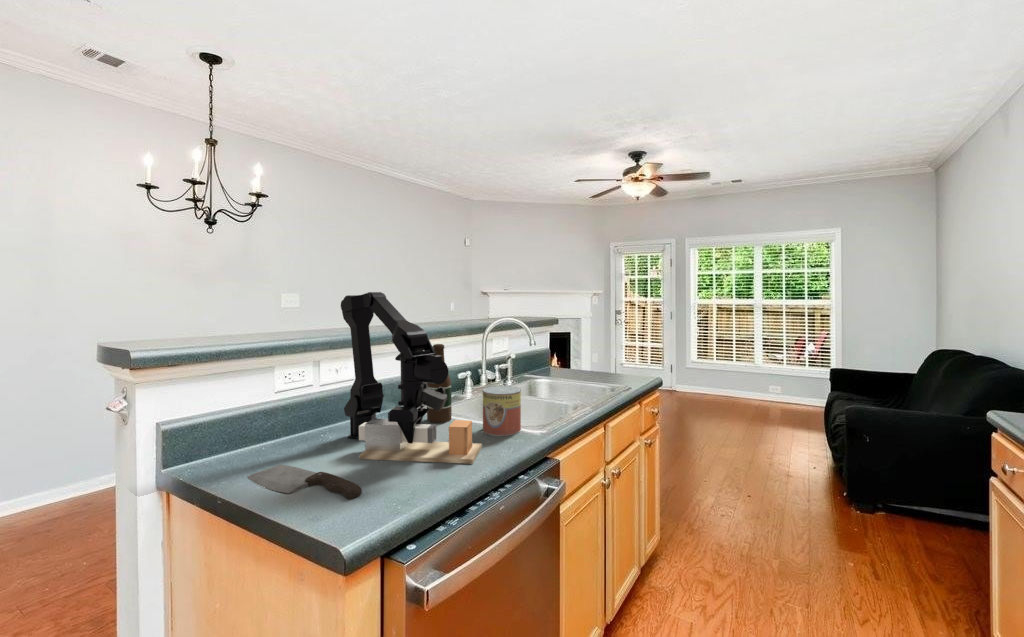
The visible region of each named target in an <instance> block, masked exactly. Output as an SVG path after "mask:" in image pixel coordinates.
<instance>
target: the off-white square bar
mask: <svg viewBox="0 0 1024 637" xmlns="http://www.w3.org/2000/svg"><path fill="white" fill-rule="evenodd" d="M366 423H367V422H364V423H363V424H361V425H360V426H359V439H358V441H365V424H366ZM400 437H401V442H407V440H406V438H405V436H404V434H403V432H402V430H401V428H400ZM436 440H437V423H431V424H428V423H426V424H425V423H424V424H423V423H421V424H416V425H415V432H414V439H413V442H418V443H433V442H436Z"/></svg>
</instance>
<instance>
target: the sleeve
mask: <svg viewBox="0 0 1024 637" xmlns="http://www.w3.org/2000/svg"><path fill="white" fill-rule="evenodd" d="M364 443H365V444H364V446H365V447H364V448H365V449H364V451H365V450H373V451H397V452H400V451H401V450H402V449H403V448H404V447H405V446H407V442H401V437H400V426H399V425H398V423H397V422H389V421H388V418H377V419H372V420H371V421H369V422H367V423H366V424H365V440H364Z"/></svg>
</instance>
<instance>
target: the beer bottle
mask: <svg viewBox="0 0 1024 637" xmlns="http://www.w3.org/2000/svg"><path fill="white" fill-rule="evenodd" d="M432 347H433V348H434V351H435V353H436V355H441V356H442V361H444V362H445V344H443V343H436V344H432ZM445 363H446V362H445ZM426 383H427V382H426ZM427 385H428V389H431V390H432V389H434V390H437V389H438V388H439V387H443V388H445V392H446V394H447V400H446V402H445V404H444V407H443V408H442V409H441V410H440V411H437V410H434V409H433V408H431V407H429V406H426V409H430V410H429V411H428V412H427V413H426V419H427V421H428V422H429V423H431V424H442V423H448V422H451V420H452V415H453V414H452V412H453V411H452V404H453V403H452V379H451V376H450V374H449V373H448V377H447V379H446V380H445V382H443V383H442V384H433V383H427Z"/></svg>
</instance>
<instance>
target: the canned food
mask: <svg viewBox="0 0 1024 637" xmlns="http://www.w3.org/2000/svg"><path fill="white" fill-rule="evenodd" d="M521 402H522V389H521V388H520V387H516V386H513V385H510V386H509V385H495V386H488V387H484V388H483V389H482V432H483V433H484V434H486V435H489V436H496V437H506V436H515V435H517V434H519V433H520V432H519V431H520V430H521V431H522V426H521V425H522V424H521V423H522V418H521V417H522V410H521V409H522V408H521V407H522V406H521V405H522V403H521ZM518 432H519V433H518Z"/></svg>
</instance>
